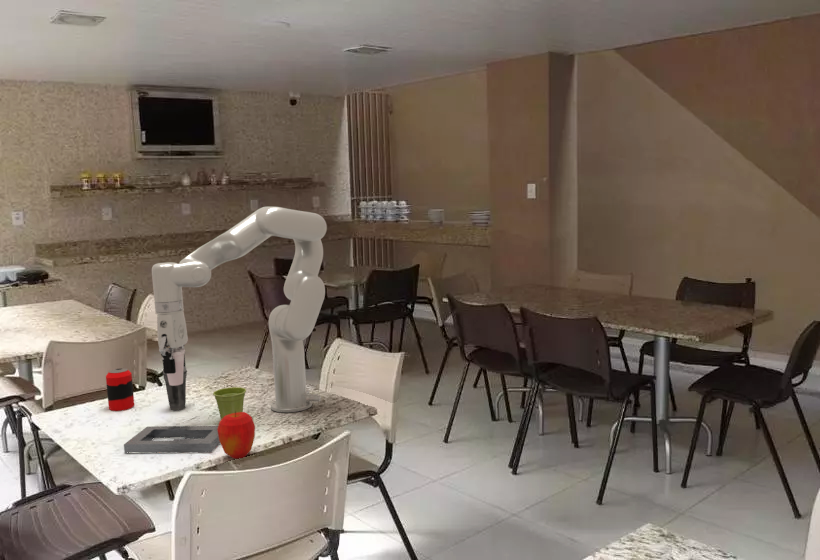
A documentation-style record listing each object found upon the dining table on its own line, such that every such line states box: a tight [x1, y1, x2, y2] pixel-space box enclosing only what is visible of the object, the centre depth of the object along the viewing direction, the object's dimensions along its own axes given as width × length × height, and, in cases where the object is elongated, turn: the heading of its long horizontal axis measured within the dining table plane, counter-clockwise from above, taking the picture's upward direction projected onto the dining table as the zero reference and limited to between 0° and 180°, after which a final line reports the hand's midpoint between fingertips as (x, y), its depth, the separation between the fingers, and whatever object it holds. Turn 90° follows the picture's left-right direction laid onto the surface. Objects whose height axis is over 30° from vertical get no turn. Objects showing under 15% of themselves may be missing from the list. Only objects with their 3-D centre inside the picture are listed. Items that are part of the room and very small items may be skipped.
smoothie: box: [167, 347, 186, 386], centre depth 201 cm, size 6×6×14 cm
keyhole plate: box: [123, 425, 221, 454], centre depth 192 cm, size 23×14×2 cm, turn 86°
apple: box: [217, 411, 256, 460], centre depth 180 cm, size 9×9×12 cm
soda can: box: [105, 367, 135, 412], centre depth 226 cm, size 8×8×12 cm
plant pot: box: [212, 386, 247, 421], centre depth 209 cm, size 9×9×9 cm
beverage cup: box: [162, 346, 188, 412], centre depth 222 cm, size 7×7×20 cm
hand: (174, 369), depth 202 cm, fingers closed on smoothie, 6 cm apart
